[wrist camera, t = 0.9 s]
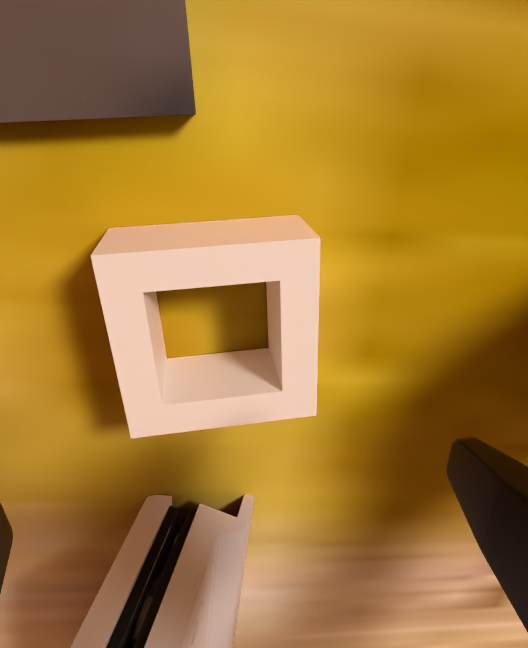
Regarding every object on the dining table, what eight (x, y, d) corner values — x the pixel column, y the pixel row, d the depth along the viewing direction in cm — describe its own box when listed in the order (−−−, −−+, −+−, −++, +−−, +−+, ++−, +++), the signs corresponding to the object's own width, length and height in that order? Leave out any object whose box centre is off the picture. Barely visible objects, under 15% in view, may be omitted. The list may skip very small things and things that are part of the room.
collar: (297, 214, 15) (320, 238, 13) (298, 370, 18) (316, 415, 16) (108, 228, 15) (90, 255, 12) (140, 387, 17) (130, 438, 15)
